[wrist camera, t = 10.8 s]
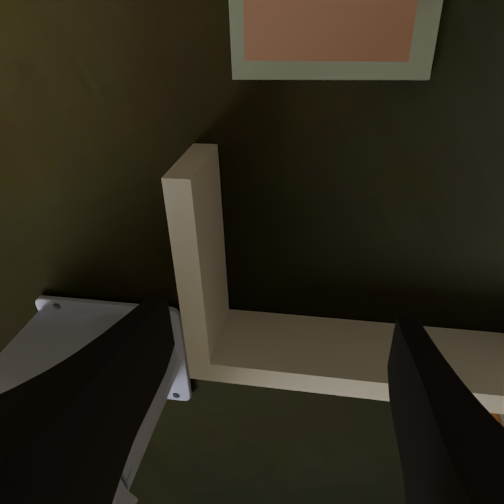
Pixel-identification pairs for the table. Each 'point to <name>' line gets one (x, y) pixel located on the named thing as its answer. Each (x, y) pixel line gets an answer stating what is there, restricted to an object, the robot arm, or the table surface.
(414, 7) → the block
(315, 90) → the table surface
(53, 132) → the table surface
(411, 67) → the mat
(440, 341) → the u-shaped wall
